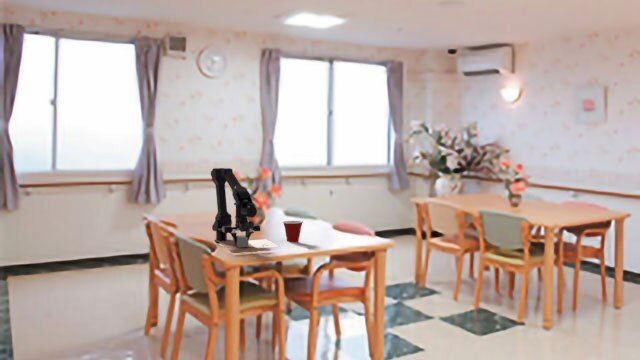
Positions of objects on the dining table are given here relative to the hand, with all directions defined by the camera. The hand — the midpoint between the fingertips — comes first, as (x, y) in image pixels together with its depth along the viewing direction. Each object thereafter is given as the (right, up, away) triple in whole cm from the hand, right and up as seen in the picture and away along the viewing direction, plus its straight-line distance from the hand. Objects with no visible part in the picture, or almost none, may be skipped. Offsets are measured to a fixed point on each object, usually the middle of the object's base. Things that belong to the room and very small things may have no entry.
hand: (241, 245), depth 298 cm
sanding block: (0, 0, 0) cm, 0 cm away
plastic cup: (+25, -1, +17) cm, 30 cm away
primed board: (+10, -1, +8) cm, 12 cm away
